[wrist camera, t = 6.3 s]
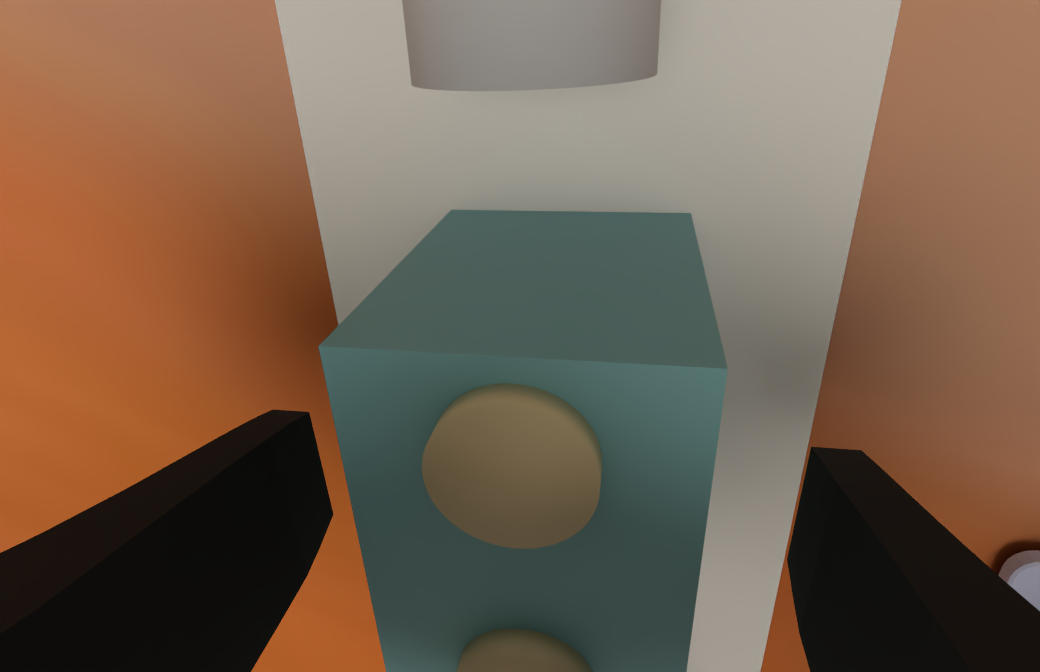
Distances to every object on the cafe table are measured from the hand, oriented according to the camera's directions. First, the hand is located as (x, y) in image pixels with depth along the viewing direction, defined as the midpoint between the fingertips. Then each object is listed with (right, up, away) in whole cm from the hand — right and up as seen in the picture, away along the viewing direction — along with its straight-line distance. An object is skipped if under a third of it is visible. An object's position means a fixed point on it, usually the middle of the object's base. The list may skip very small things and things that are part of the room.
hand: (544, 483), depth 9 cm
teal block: (+1, +2, +3) cm, 3 cm away
